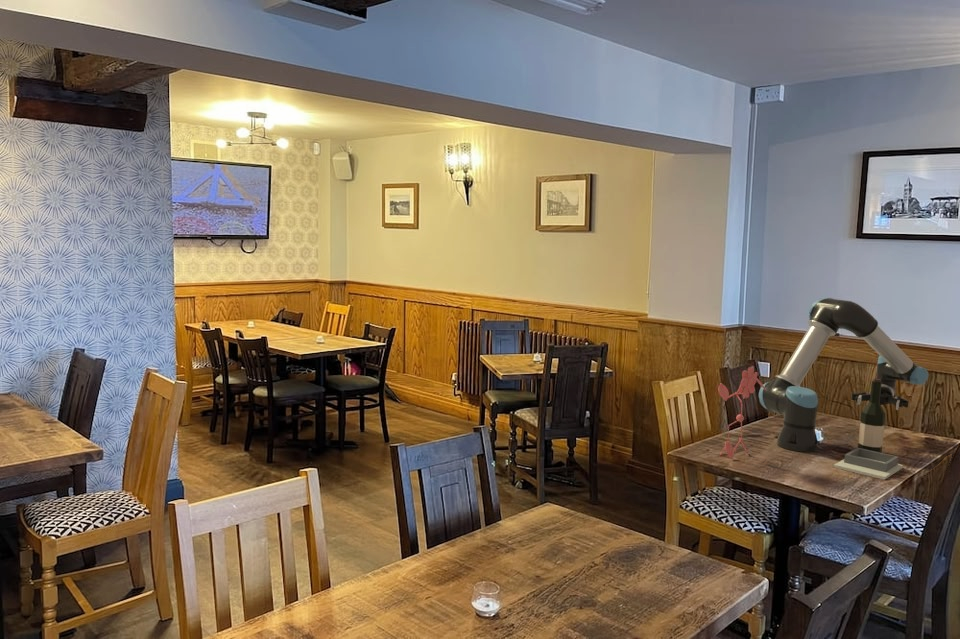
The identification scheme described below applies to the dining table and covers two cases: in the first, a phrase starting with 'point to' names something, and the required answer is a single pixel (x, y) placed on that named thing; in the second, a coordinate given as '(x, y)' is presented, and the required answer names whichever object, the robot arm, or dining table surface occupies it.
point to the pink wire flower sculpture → (747, 388)
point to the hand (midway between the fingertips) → (877, 404)
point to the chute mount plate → (870, 463)
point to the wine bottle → (872, 421)
